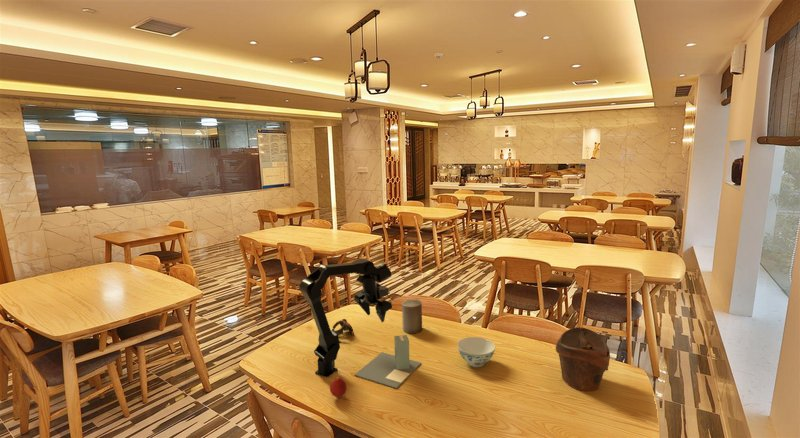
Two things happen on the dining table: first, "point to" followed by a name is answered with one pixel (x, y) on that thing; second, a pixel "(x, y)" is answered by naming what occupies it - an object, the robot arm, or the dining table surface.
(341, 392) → the pomegranate
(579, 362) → the brown flower pot
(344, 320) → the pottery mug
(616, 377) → the dining table surface
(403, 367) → the block
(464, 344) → the chinaware
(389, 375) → the mat
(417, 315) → the pillar candle
